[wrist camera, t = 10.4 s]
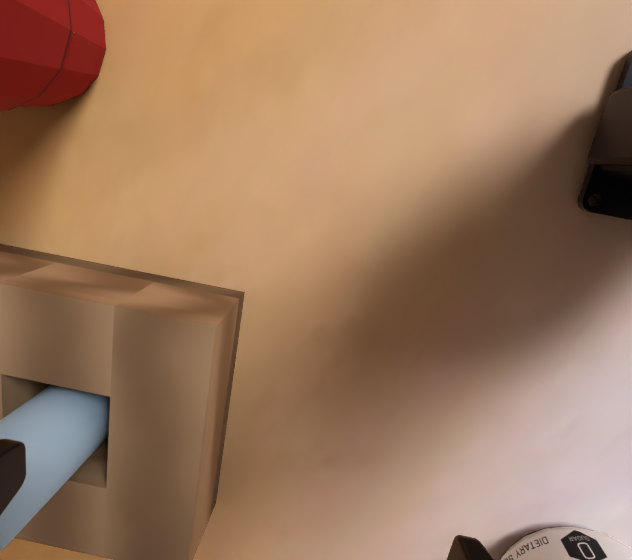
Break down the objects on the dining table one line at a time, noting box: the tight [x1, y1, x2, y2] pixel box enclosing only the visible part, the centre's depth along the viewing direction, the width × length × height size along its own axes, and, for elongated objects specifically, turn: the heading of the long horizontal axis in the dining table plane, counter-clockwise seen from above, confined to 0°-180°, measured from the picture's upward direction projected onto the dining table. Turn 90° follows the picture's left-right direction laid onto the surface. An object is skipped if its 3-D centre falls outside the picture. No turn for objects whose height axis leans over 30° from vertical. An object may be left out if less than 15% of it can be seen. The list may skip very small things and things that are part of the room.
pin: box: [0, 385, 110, 551], centre depth 18 cm, size 4×4×8 cm
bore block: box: [0, 244, 245, 560], centre depth 21 cm, size 13×13×4 cm
